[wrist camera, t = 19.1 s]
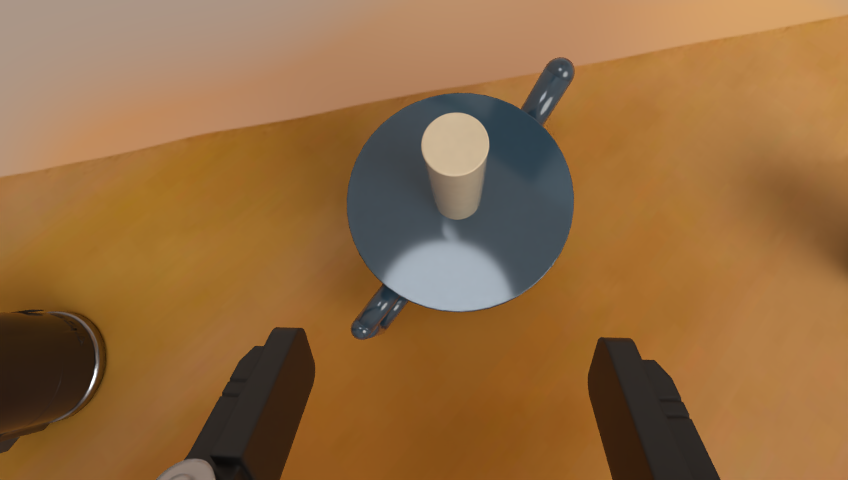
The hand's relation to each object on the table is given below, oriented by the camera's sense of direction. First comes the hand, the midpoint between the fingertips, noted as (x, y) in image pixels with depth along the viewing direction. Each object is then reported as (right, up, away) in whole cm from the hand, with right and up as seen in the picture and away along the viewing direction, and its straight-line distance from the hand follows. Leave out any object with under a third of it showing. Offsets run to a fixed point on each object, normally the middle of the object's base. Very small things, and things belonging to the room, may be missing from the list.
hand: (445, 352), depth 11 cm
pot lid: (+1, +6, +14) cm, 15 cm away
